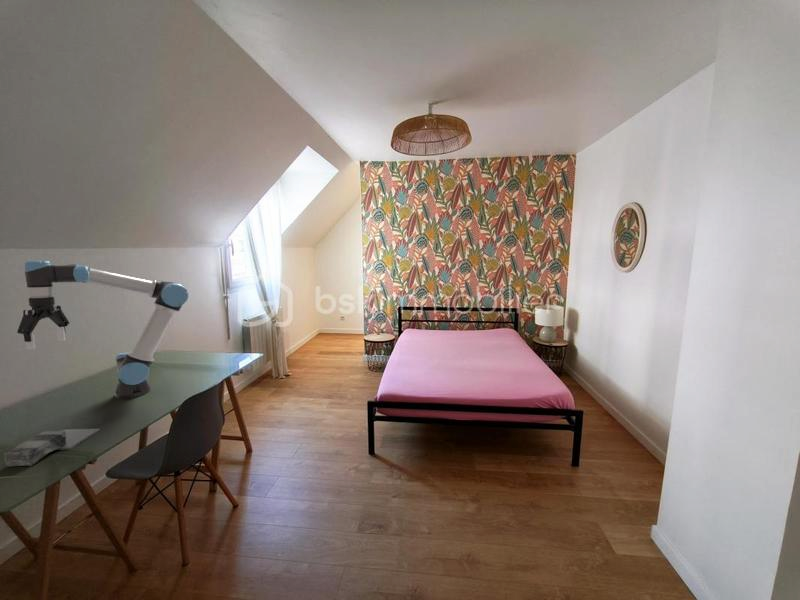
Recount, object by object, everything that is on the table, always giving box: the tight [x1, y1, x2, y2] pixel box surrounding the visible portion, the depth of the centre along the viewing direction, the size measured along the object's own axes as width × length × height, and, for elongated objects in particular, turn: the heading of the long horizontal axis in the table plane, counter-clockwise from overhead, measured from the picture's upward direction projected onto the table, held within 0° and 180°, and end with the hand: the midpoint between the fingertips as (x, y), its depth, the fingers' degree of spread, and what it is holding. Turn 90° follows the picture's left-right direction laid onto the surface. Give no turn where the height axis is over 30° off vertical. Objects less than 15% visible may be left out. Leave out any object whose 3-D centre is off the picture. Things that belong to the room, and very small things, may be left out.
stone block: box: [3, 430, 66, 467], centre depth 122 cm, size 9×14×5 cm, turn 4°
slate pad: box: [54, 428, 101, 451], centre depth 132 cm, size 14×14×1 cm
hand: (47, 344), depth 144 cm, fingers open, 13 cm apart
